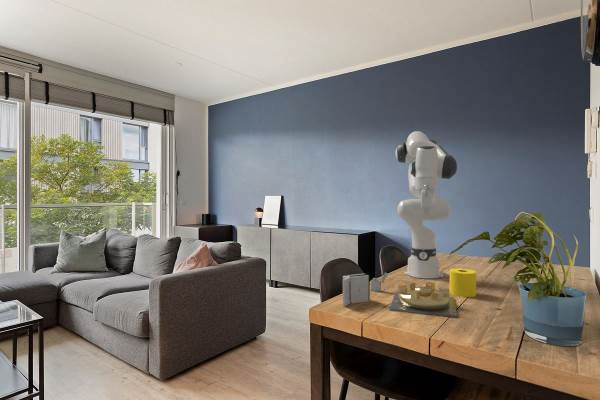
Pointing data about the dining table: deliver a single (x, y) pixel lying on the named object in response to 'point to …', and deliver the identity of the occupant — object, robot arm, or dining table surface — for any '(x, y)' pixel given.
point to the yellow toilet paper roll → (463, 282)
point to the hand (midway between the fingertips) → (426, 219)
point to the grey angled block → (377, 283)
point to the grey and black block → (356, 288)
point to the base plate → (448, 311)
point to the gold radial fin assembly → (423, 296)
